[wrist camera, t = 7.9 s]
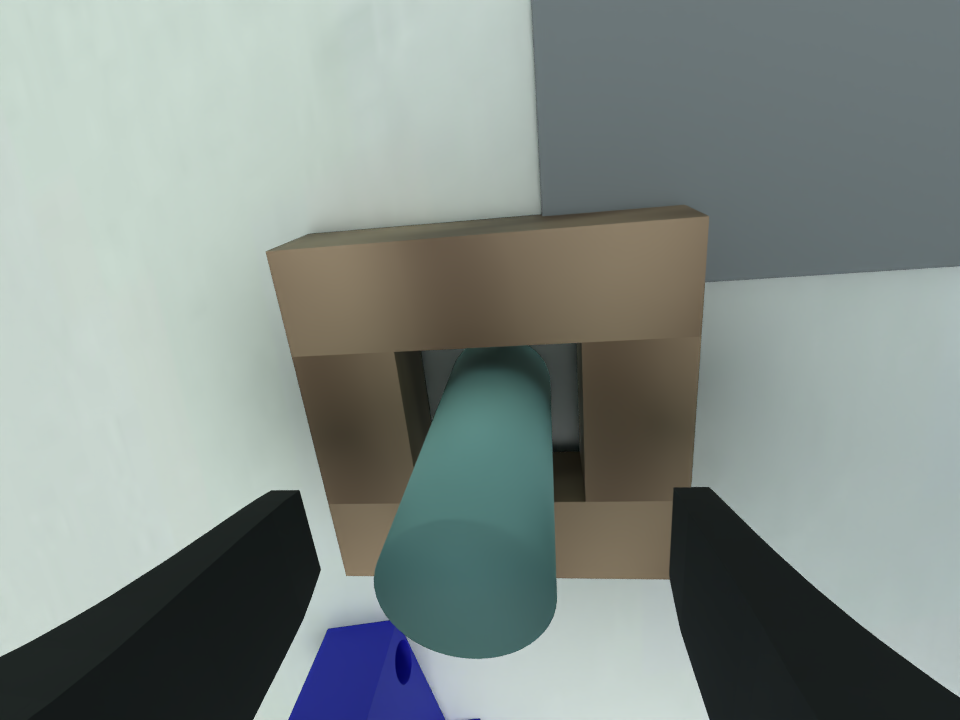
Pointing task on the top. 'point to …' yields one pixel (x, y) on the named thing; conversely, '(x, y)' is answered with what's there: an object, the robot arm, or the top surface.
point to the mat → (760, 125)
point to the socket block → (496, 323)
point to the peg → (478, 514)
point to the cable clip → (366, 678)
